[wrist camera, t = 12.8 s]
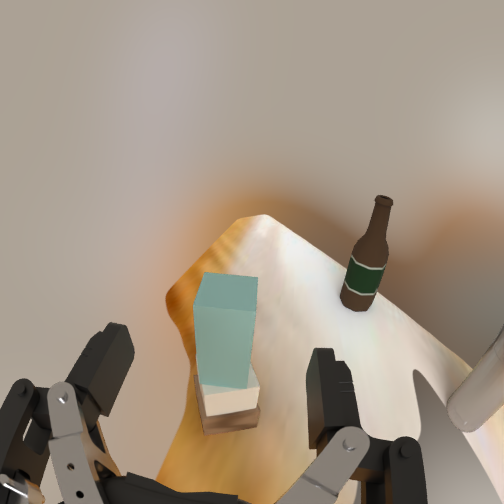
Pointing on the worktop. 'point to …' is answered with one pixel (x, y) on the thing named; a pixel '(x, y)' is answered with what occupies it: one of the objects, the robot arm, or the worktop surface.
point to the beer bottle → (368, 260)
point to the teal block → (225, 328)
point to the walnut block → (225, 417)
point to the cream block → (230, 396)
